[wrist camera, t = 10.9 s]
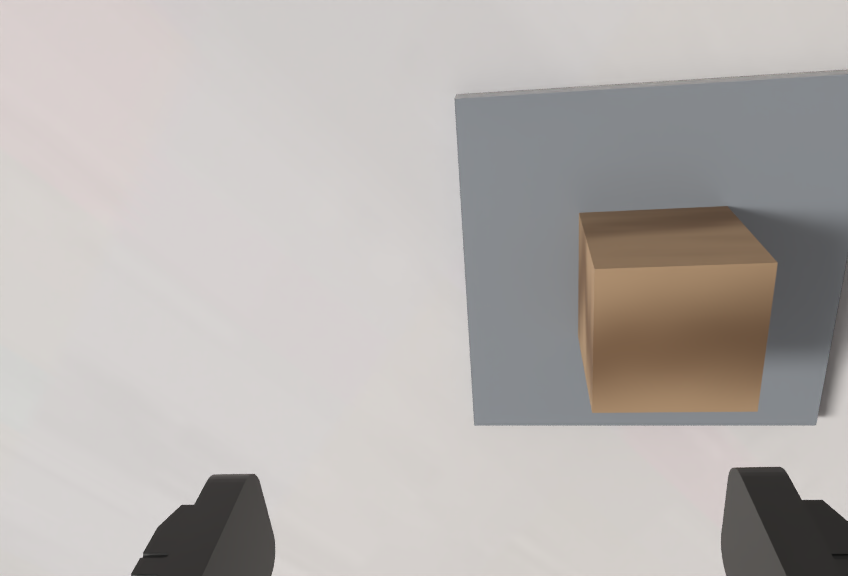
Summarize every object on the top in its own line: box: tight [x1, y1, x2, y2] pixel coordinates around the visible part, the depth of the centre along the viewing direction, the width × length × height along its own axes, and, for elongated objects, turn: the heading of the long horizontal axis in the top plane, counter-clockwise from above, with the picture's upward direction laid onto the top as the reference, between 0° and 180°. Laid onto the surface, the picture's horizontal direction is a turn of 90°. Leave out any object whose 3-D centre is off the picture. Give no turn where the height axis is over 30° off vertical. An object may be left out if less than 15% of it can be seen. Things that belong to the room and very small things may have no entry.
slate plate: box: [455, 70, 848, 425], centre depth 31 cm, size 16×16×1 cm
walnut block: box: [578, 206, 778, 413], centre depth 28 cm, size 6×6×6 cm
